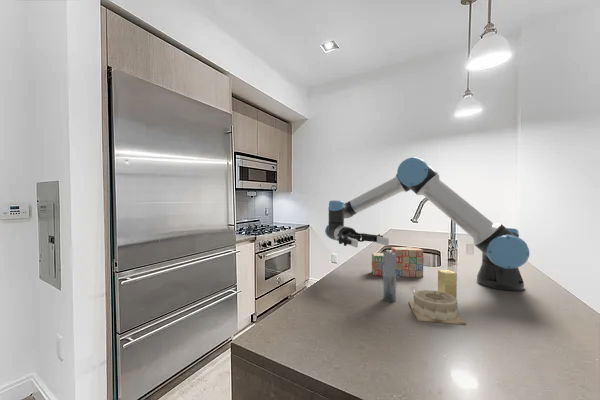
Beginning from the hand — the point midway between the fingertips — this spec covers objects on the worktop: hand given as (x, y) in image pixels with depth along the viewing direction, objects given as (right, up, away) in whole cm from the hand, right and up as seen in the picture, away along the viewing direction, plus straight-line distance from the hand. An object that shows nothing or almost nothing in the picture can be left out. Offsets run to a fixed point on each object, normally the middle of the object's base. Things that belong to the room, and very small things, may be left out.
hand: (372, 242), depth 98 cm
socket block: (+13, -18, -19) cm, 30 cm away
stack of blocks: (+17, -18, +21) cm, 32 cm away
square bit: (+22, -18, -10) cm, 31 cm away
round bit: (+3, -18, -9) cm, 21 cm away
